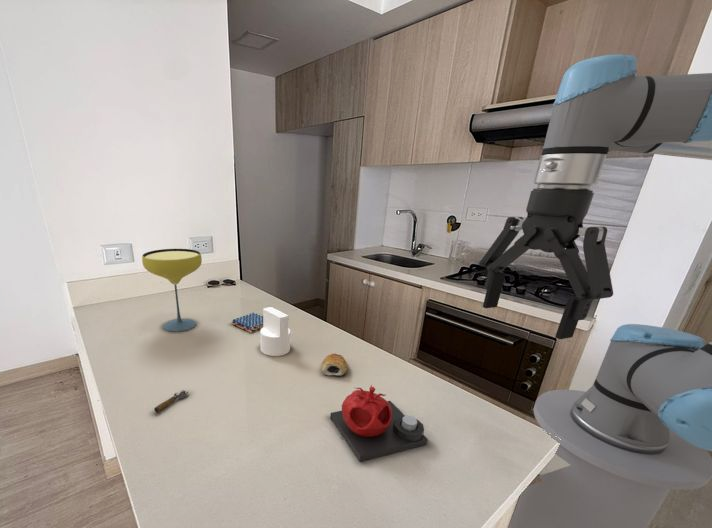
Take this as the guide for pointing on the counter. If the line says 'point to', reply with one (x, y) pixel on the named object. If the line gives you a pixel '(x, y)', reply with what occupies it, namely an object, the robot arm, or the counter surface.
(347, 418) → the pomegranate
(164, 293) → the counter surface
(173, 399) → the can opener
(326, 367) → the pastry
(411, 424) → the button
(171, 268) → the cocktail glass
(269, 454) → the counter surface
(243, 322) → the woven mat
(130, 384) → the counter surface
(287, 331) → the base with upright slab
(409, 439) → the scale
